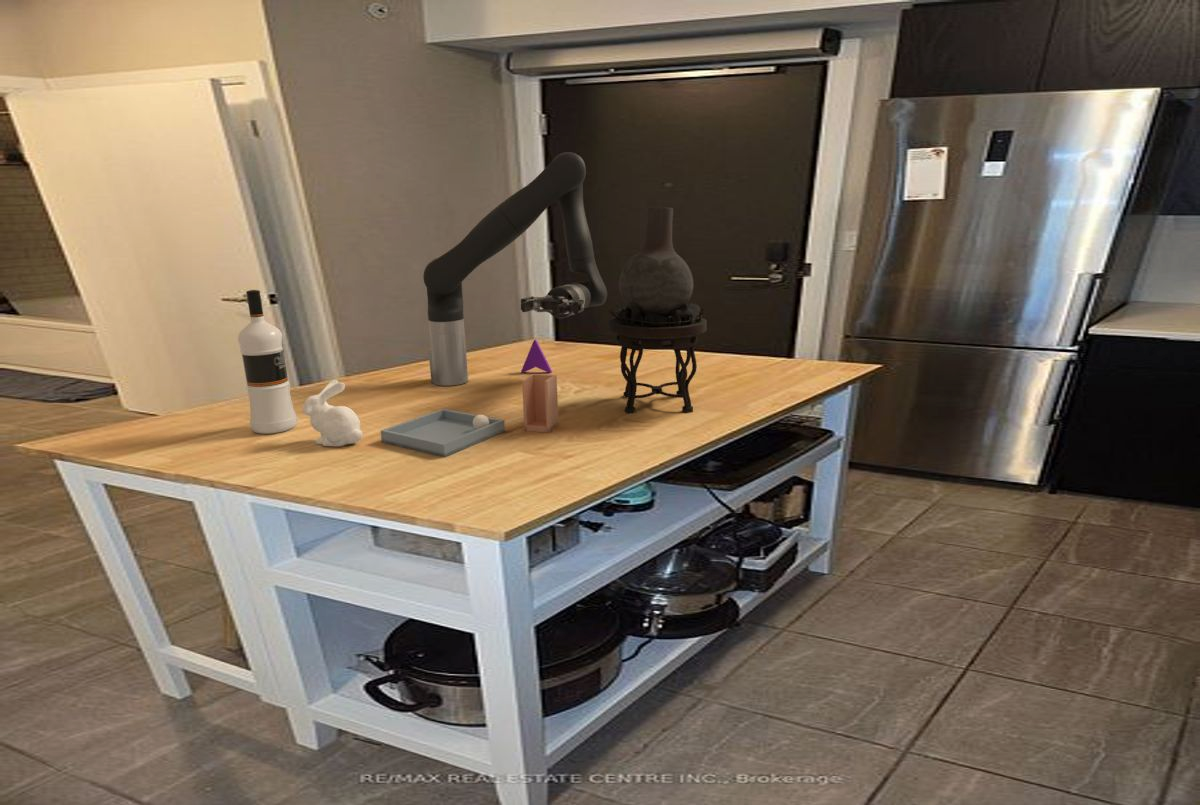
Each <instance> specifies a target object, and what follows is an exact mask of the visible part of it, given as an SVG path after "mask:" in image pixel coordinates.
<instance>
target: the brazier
mask: <svg viewBox="0 0 1200 805" xmlns="http://www.w3.org/2000/svg"><path fill="white" fill-rule="evenodd" d="M673 217H674V208H672V207H667V206H648V207H647V213H646V226H645V237H644V242H643V245H642V247H641V250H640V251H639V252H637V253H636V254H635V255H633V256H632V257H631V258H629V260H628V261H627V262H626V264H625V265H624V267H623V269H622V270H621V273H620V274H619V280H618V289H619V293H620V297H621V298H622V301H623V302H624V304H625V305H626V307H624V304H623V302H621V306H622V308H619V307H618V305H617V304H615V306H616V308H617V310H615V308H614V307H611V309H612V310H613V311H612V310H611V309H608V313H610V315H611V316H613V317H612V318H610V319H608V321H607V324H608V325H607V330H609V331H610V332H613V333H614V334H616V343H617V344H618V345H619V346H621V347H620V348H621V349H620V353H619V354H620V355H619V359H620V371H621V374H622V376H623V379H625V381H626V384H625V390H624V392H623V397H624V396H625V397H624V398H627V400H626V406H625V407H624V413H625V412H626V413H625V414H629V413H631V414H635V413H636V410H637V408H636V407H635V406H634V404H635V400H636V399H643V398H644V399H645V398H649V397H651V396H654V395H662V396H665V397H669V398H670V397H671V398H682V399H683V404H684V405H683V406H682V408H681V410H682V413H693V412H694V406H692V400H691V397H690V392H689V385H690V383H691V382H692V380H693V379H694V376H695V375H696V373H697V359H696V354H695V346H696V345H697V343H698V336H699V335H702V334H704V333H706V332H707V325H708V324H707V323H708V322H707V319H705V318H703V315H704V313H705V312H704V311H705V308H700V306H699V305H698V304H695V303H689V304H688V302H689V301H690V299H691V297H692V294H693V291H694V278H693V275H692V274H693V273H692V270H690V269H691V268H689V265H688V264H687V262H686V261H685V260H684V258H682V257H681V256H680V255H678V253H677V252H676V251H675V249H674V246H673V245H674V244H673V219H674V218H673ZM663 342H670V344H663ZM628 350H631V352H630V354H629V367H628V365H627V363H626V361H627V356H628ZM644 350H647V351H648V350H649V351H650V350H654V351H661V350H663V351H665V350H673V351H674V356H675V380H676V381H673V382H672V381H671V382H665V383H662V384H660V385H652V384H649V383H644V382H638V381H637V370H638V367H639V365H640V362H641V360H642V357H643V355H644V354H643V353H644ZM682 350H686V359H685V360H684V359H683V356H682V354H681V351H682ZM637 351H638V354H637V357H636V360H635V362H634V357H635V354H636V352H637ZM690 361H691V365H692V368H691V372H690V374H689V376H688V369H687V367H688V365H689V364H690ZM680 366H681V367H680ZM676 385H677V391H675V392H676V394H675V393H668V392H665V391H663V388H665V387H668V386H676ZM637 386H639V387H647V388H649V389H651V392H649V393H644V394H638V395H637Z"/></svg>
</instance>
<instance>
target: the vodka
mask: <svg viewBox="0 0 1200 805" xmlns="http://www.w3.org/2000/svg"><path fill="white" fill-rule="evenodd" d="M245 294H246V299H247V305H248V311H249V317H250V322H249V323H248V324H247V325H246V326H245V327H243V329H241V330H240V331H239V333H238V336H237V341H238V343H239V348H240V354H241V358H242V363H243V370H244V376H245V380H246V381H245V382H246V390H247V393H248V394H247V395H248V400H249V406H250V407H249V408H250V420H249V425H250V429H251V431H253V432H254V433H256V434H260V435H261V434H262V435H273V434H274V435H275V434H280V433H284V432H288V431H290V430H292V429H294V427H296V426H297V425H298V415H297V413H296V412H295V408H294V406H293V402H292V397H291V391H290V389H291V388H290V383H291V382H290V381H289V377H288V371H287V366H286V365H287V362H286V356H285V351H284V350H285V349H284V344H283V333H282V331H281V330H280V329H279V328H278V327H277V326H274V325H273V324H271V323H269V322H267V321H266V319H265V316H264V310H263V309H264V308H263V304H262V297H261V291H260V290H259V289H249V290H247V291H246V292H245Z"/></svg>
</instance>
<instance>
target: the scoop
mask: <svg viewBox="0 0 1200 805" xmlns="http://www.w3.org/2000/svg"><path fill="white" fill-rule="evenodd" d="M521 387H522V406H523V408H522V409H523V426H524V428H523V429H524V431H525V432H537V433H539V432H540V433H551V432H552V431H553V430H554V429H555V428H557V427H558V426H559V405H558V404H559V403H558V399H559V398H558V377H557V374H540V373H531V374H529V375H528V376H526V377H524V378H523V379H522V380H521Z"/></svg>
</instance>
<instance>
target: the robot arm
mask: <svg viewBox="0 0 1200 805" xmlns="http://www.w3.org/2000/svg"><path fill="white" fill-rule="evenodd" d="M586 168H587V167H586V164H585V161H584V159H583V158H582V157H581V156H580V155H578V154H576V153H575V152H570V151H569V152H568V151H565V152H562V153H559V154H558V155H556V156H555V157H554V158H553V160H551V161H550V163H549V164H547V165H546V167H545V168H544V169H543V170H542V171H541V172H540V173H539V174H538V175H537V176H536V177H535V178H534V179H533V180H531V182H529V183H528V184H526V186H524V187H522V188H521V189H519V190H518V191H516V192H515V193H513V194H511V196H509V197H507V198H506V199H505V200H504V201H502V202H501V203H500V204H498V205H497V206H496V207H495V208H494V209H493V208H492V210H491V211H490V212H488V214H486V216H484V217H483V218H482V219H481V220H480V221H479V222H478V223H477V224H476V225H475V226H474V227H473V228H472V229H471V230H470V231H469V233H467V235H465V237H464V238H463V239H462V240H461V241H460V242H458V244H456V245H455V246H454V247H453V248H451V249H449V250H448V251H446V252H445V253H444V254H442V255H440V256H439V257H436V258H434V259H433V260H430V262H429V263H428V264H426V266H425V268H424V271H423V277H422V278H423V283H424V285H425V287H426V294H427V295H426V296H427V320H428V321H427V322H428V330H429V340H430V347H428V359H429V370H430V371H429V372H430V381H431V383H433V384H434V385H438V386H444V387H446V386H458V385H462V384H466V383H467V382H469V375H468V374H469V372H468V358H467V344H466V334H465V333H466V331H465V319H464V318H465V317H464V297H463V283H462V282H463V281H464V280H465V279H466V278H467V277H468V276H469V275H470V274H471V273H472V272H473V271H474V270H475V269H476V268H477V267H479V266H480V265H481V264H483V263H484V262H486V261H487V260H489V259H491V258H492V257H493V256H495V255H496V254H498V253H499V252H501V251H502V250H504V249H505V248H507V247H508V246H509V245H510V244H512V243H513V242H514V241H515V240H516V239H518V238H519V237H520V236H521V235H522V234H524V233H525V232H526V231H527V230H528V229H529V228H530V227H531V226H532V225H533V224H534V223H535V221H537V220H538V218H539V217H540V216H541V215H542V214H543V212H544V211H545V210H547V209H548V208H549V207H550V206H551V205H552V204H554V203H555V202H556V201H557V200H558V204H559V208H560V212H561V214H560V215H561V218H562V224H563V232H564V240H565V248H566V254H567V260H568V265H569V266H568V267H569V270H570V271H571V273H575V274H584V275H585V276H586V277H587V278H588V280H583V281H575V282H572V283H570V284H565V285H560V286H556V287H553V288H552V289H551V290H549V291H548V293H546V295H545V296H533V295H532V296H528V297H524V298H520V311H521V312H522V313H527V312H531V311H532V312H533V311H534V312H535V313H545V312H546V313H549V315H551V316H553V318H557V319H564V318H568V317H569V316H573V315H577V314H580V313H582V312H584V311H585V310H584V309H586V308H591V307H599V306H602V305H604V304H605V303H606V302H607V301H606V300H607V297H608V291H607V287H606V285H605V283H604V281H603V278H602V276H601V274H600V272H599V268H598V266H597V264H596V263H597V262H596V260H595V253H594V247H593V246H594V245H593V240H592V237H591V235H592V234H591V232H590V228H589V225H588V220H587V216H586V211H585V205H584V192H583V191H584V188H583V186H584V181H585V178H586V175H587V169H586Z"/></svg>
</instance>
